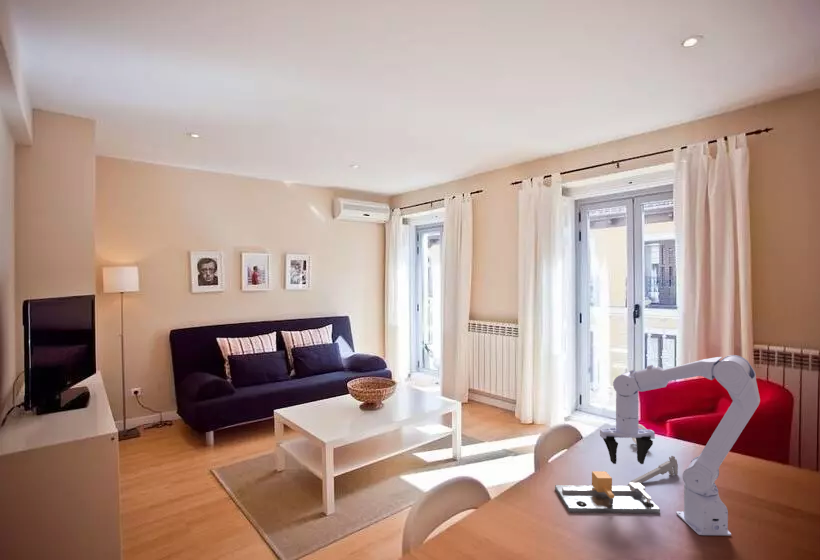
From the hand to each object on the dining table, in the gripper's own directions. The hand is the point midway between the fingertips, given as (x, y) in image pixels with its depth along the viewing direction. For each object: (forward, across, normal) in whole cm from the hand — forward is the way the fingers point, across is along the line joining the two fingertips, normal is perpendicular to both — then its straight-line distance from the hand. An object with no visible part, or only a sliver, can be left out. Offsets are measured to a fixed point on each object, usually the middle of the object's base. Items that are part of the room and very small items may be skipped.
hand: (626, 462), depth 120 cm
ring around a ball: (+10, -21, -35) cm, 42 cm away
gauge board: (+10, +7, +2) cm, 12 cm away
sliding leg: (+8, +7, +2) cm, 11 cm away
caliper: (+10, -13, -10) cm, 19 cm away
